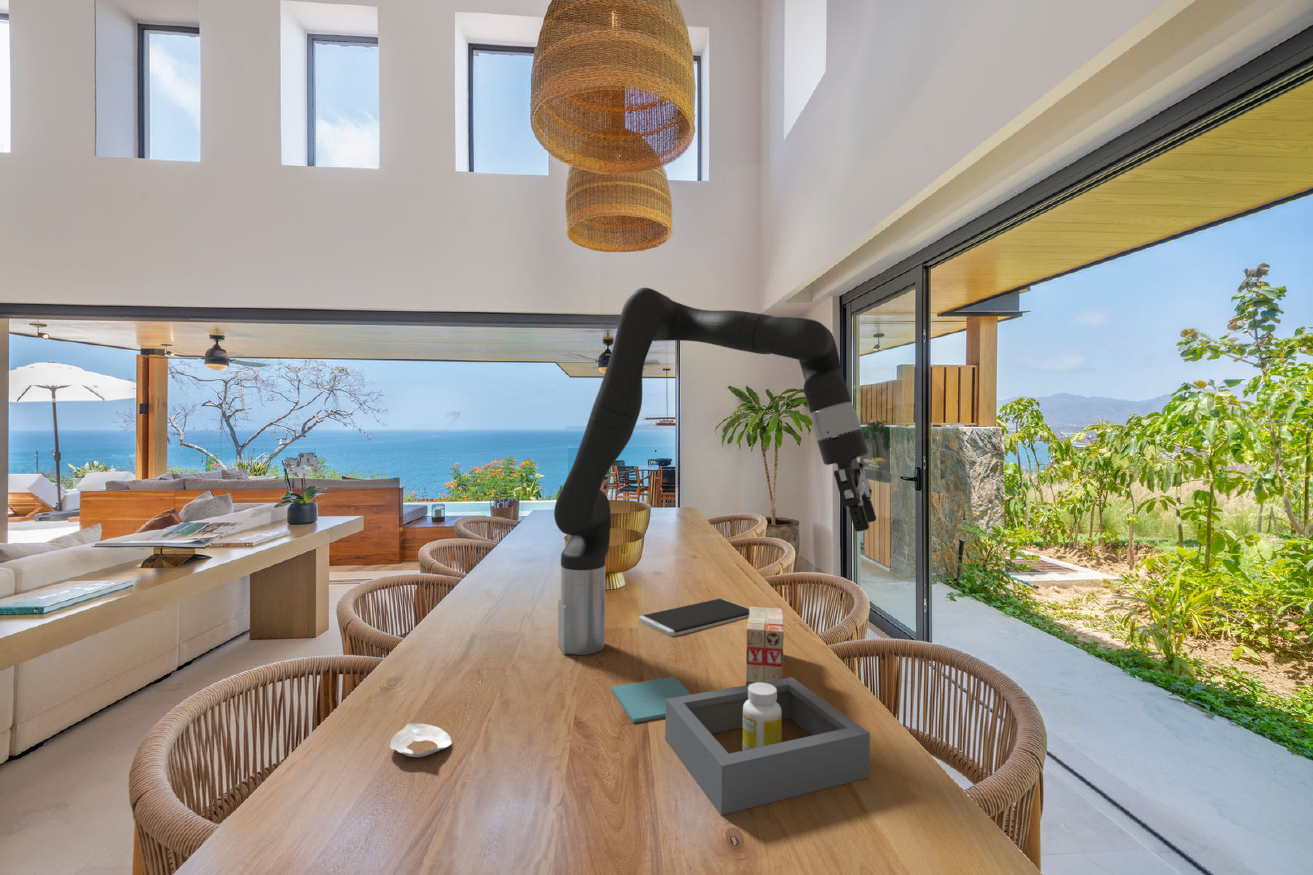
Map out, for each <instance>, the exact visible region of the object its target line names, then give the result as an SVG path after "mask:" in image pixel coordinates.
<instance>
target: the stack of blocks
mask: <svg viewBox="0 0 1313 875" xmlns="http://www.w3.org/2000/svg"><path fill="white" fill-rule="evenodd" d="M749 608H750V610H749V617H747V618H748V619H747V626H746V656H745V657H746V659H745V662H746V673H745V674H746V675H745V676H746V677H745V685H751V684H753V683H762V682H768V681H774V680H780V679H784V678H783V675H784V641H785V640H784V636H785V635H784V634H785V633H784V632H785V630H784V614H783V609H782V608H777V607H774V608H773V607H761V606H759V607H758V606H749Z"/></svg>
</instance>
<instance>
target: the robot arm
mask: <svg viewBox="0 0 1313 875" xmlns="http://www.w3.org/2000/svg"><path fill="white" fill-rule="evenodd" d="M623 304H624V305H623V306H622V310H621V313H620V317H619V321H618V325H617V330H616V332H615V333H616V334H615V338H614V341H613V342H614V343H613V346H612V350H611V354H610V358H609V359H608V360H609V361H608V363H607V366H606V369H605V372H604V375H603V379H602V382H601V384H600V387H599V390H598V393H597V395H596V397H595V400H594V403H593V406H592V409H591V412H590V414H589V417H588V420H587V421H588V422H587V425H586V428H585V430H584V433H583V436H582V439H581V442H580V444H579V447H578V451H577V453H576V457H575V459H574V461H573V464H572V466H571V469H570V471H569V474H568V476H567V477H566V480H565V482H564V484H563V486H562V488H561V489H560V493H559V494H558V496H557V500H556V503H555V506H554V511H553V512H554V514H553V516H554V521H555V524H556V526H557V528H558V529H559V531H561V533H563V534H564V535H567V536H570V537H569V541H568V544H567V545H566V546H565V548H563V550H562V551H561V554H560V598H559V599H558V601H557V602H558V605H557V606H558V610H557V613H558V614H557V624H558V625H557V626H558V627H557V645H558V647H559V648H560V651H562V654H563V655H580V656H583V655H591V654H596V653H598V652H599V653H600V652H601V651H603V649H604V648H605V646H606V644H605V643H606V642H605V641H606V634H605V633H606V560H607V554H608V552H609V549H610V548H609V547H610V543H611V542H610V540H611V539H610V538H611V537H610V536H611V522H612V521H611V520H612V519H611V514H612V513H611V506H610V501H609V498H608V496H607V494H605V492H604V491H603V490H601V488H602V486H603V482H604V480H605V477H606V476H607V474H608V472H609V471H610V469H611V468H612V466H613V465H614V464H615V462H616V460H617V459H618V458H619V456H620V455H621V454H622V452H623V451H624V450H625V448H626V446H627V444H628V443H629V442H630V439H631V437H632V435H633V433H634V430H635V427H636V424H637V421H638V419H639V416H640V413H641V410H642V403H643V375H644V374H643V371H644V366H645V362H646V359H647V355H648V353H649V351H650V349H651V346H652V344H653V341H654V342H660V341H663V342H664V341H670V342H671V341H682V342H683V341H684V342H685V341H686V342H695V343H696V342H698V343H705V344H708V345H714V346H719V347H722V348H727V349H731V350H737V351H743V352H748V353H753V354H758V355H777V356H780V357H785V358H790V359H795V360H798V361H799V365H800V368H801V372H802V375H803V378H804V384H803V389H804V390H803V391H804V395H805V399H806V403H807V406H808V410H809V413H810V417H811V422H812V428H813V433H814V434H815V439H816V442H817V445H818V448H819V451H820V454H821V458H822V462H823V463H824V465H825V466H830V465H834V464H836V465H837V470H833V476H834V478H835V480H836V485H837V489H838V492H839V495H840V499H841V505H842V506H843V507H844V508H846V509H847V510H848V511H849V516H850V518H851V521H852V525H853V529H854V531H855V532H863V531H868V529H869V528H870V524H869V523H873V522H875V521H876V520H877V516H876V513H875V512H876V511H875V509H874V506H873V503H872V500H871V499H872V488H871V485H870V482H869V480H868V477H867V473H866V469H865V467H864V463H863V462H862V461H859V462H858V460H857V459H858V458H860V457H864V456H867V455H868V454H869V448H868V446H867V443H866V440H865V436H864V432H863V429H862V426H861V423H860V419H859V417H858V413H857V411H856V408H854V404H853V402H852V399H851V395H850V393H849V390H848V386H847V383H846V380H845V378H844V376H843V373H842V367H841V362H840V357H839V352H838V348H837V347H838V346H837V344H836V341H835V338H834V335H833V333H832V332H831V331H830V330H829V328H828V327H827V326H825V325H824V324H823V323H822V322H820V321H818V320H816V319H809V318H805V317H804V318H802V317H795V316H794V317H789V316H788V317H787V316H774V315H769V314H765V313H764V314H763V313H757V312H752V311H751V312H750V311H743V310H729V309H727V310H707V309H700V308H695V307H692V306H690V305H689V306H688V305H686V304H682V303H679V302H676V301H675V300H672V299H671V298H670V297H669V296H666V295H664V294H663V293H660V292H659V291H657V290H655V289H654V288H650V287H640V288H638V289H636V290H634V291H633V292H632V293H631V294H630V295H629V296H628V297H627V299H626V300H625V302H624V303H623Z"/></svg>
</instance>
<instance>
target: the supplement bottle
mask: <svg viewBox="0 0 1313 875" xmlns="http://www.w3.org/2000/svg"><path fill="white" fill-rule="evenodd" d="M748 698H749V699H748V700H747V701H746V702H745V703H744V705H743V728H742V751H744V750H749V749H753V748H758V747H763V746H767V745H772V744H776V743H781V742H783V741H782V732H783V731H782V730H783V729H782V726H783V725H782V721H783V720H782V712H781V707H780V705H779V704H778V703H777V702H776V700H777V689H776V688H775V687H774V686H773V685H771V684H767V683H753V684H751V685H749V687H748Z"/></svg>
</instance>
